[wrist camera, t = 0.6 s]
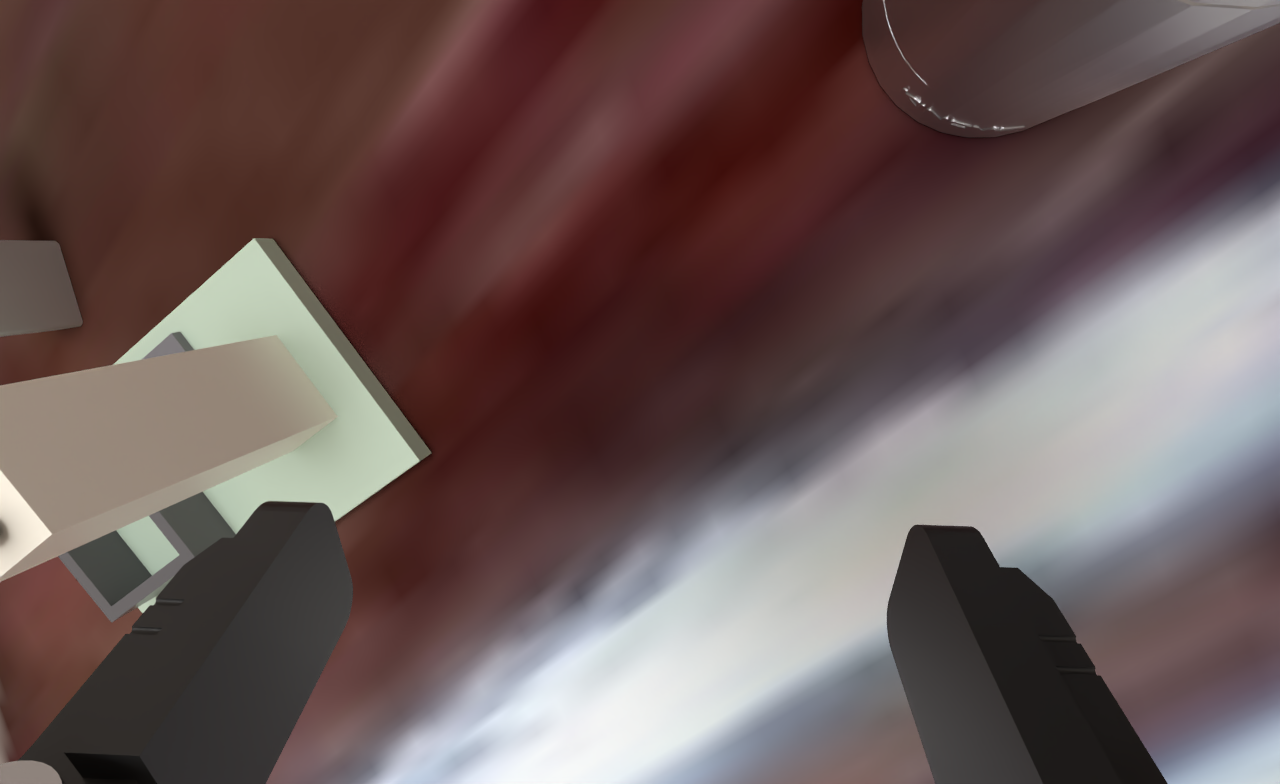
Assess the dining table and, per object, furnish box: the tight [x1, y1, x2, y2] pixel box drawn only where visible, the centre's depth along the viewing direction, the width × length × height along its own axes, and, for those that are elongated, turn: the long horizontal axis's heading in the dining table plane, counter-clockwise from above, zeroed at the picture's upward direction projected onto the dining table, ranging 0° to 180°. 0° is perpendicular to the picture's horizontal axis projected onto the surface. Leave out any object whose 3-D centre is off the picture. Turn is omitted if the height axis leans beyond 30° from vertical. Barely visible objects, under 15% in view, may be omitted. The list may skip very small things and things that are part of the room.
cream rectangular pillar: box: [0, 335, 338, 582], centre depth 23 cm, size 3×4×17 cm, turn 35°
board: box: [58, 238, 431, 622], centre depth 31 cm, size 18×12×4 cm, turn 125°
